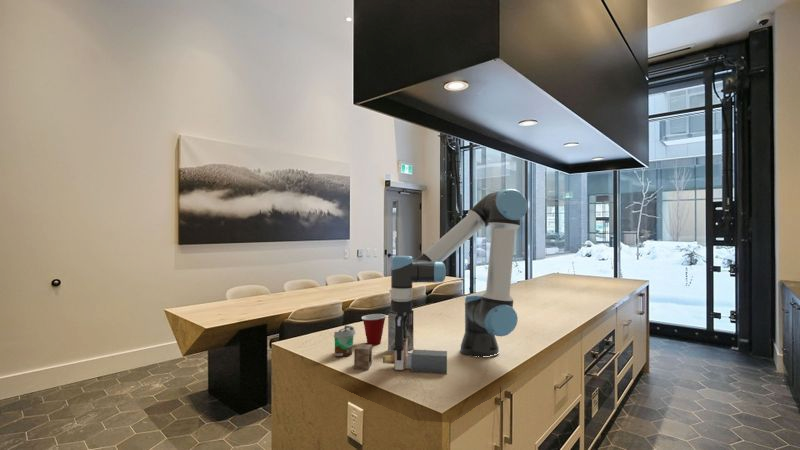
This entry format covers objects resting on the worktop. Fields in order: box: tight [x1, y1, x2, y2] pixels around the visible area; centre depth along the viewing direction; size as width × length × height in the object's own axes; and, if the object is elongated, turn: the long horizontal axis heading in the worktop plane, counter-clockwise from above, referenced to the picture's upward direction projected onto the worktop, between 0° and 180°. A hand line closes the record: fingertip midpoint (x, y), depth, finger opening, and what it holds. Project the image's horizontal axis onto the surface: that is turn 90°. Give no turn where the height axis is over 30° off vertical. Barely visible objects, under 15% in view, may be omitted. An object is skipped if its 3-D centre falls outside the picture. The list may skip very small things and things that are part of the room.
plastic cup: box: [361, 313, 387, 346], centre depth 166 cm, size 11×11×12 cm
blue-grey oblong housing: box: [410, 349, 448, 375], centre depth 132 cm, size 12×6×6 cm, turn 83°
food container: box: [333, 325, 356, 359], centre depth 149 cm, size 12×6×10 cm, turn 168°
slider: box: [382, 338, 412, 370], centre depth 133 cm, size 22×5×9 cm, turn 83°
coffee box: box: [387, 309, 414, 353], centre depth 157 cm, size 9×6×16 cm
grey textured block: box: [353, 343, 373, 371], centre depth 135 cm, size 5×6×7 cm
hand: (400, 365), depth 133 cm, fingers open, 8 cm apart
